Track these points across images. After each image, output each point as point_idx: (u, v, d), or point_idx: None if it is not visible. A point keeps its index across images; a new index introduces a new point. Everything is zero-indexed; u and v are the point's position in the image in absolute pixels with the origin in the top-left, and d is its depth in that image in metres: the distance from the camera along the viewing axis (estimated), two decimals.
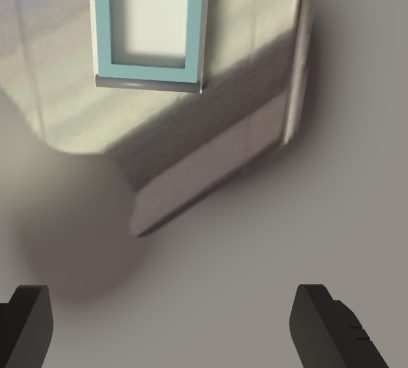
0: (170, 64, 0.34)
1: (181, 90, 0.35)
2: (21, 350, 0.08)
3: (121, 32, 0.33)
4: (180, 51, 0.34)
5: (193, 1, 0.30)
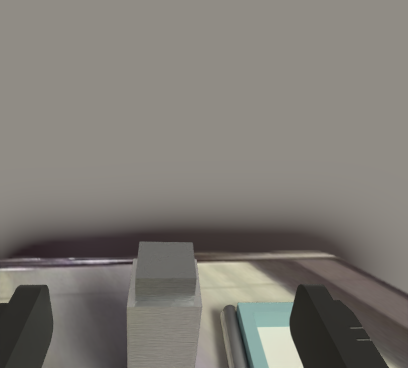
0: None
1: None
2: (21, 350, 0.08)
3: None
4: None
5: (263, 308, 0.32)
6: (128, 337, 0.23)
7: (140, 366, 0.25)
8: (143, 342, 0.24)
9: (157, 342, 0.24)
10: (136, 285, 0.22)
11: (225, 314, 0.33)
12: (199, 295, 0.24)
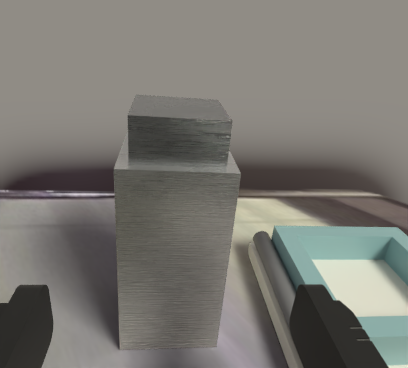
0: (393, 272, 0.23)
1: None
2: (21, 350, 0.08)
3: None
4: (368, 263, 0.24)
5: (310, 232, 0.23)
6: (118, 231, 0.14)
7: (138, 287, 0.16)
8: (142, 242, 0.15)
9: (166, 242, 0.15)
10: (130, 130, 0.13)
11: (257, 242, 0.24)
12: (233, 163, 0.15)
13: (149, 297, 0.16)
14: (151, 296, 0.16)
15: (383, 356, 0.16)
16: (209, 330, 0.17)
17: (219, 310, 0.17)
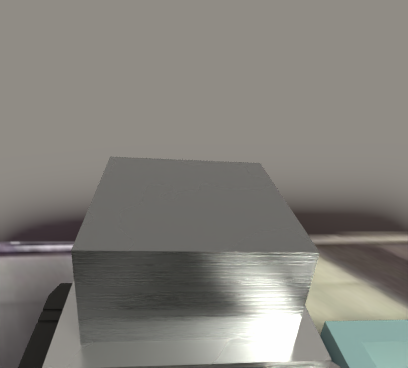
0: None
1: None
2: None
3: None
4: None
5: (380, 333, 0.16)
6: None
7: None
8: None
9: None
10: (79, 281, 0.05)
11: None
12: (305, 315, 0.07)
13: None
14: None
15: None
16: None
17: None
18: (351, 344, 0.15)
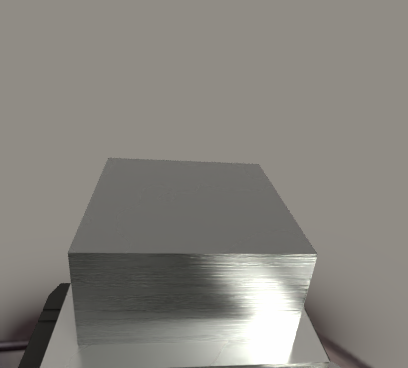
0: None
1: None
2: None
3: None
4: None
5: None
6: None
7: None
8: None
9: None
10: (76, 283, 0.05)
11: None
12: (304, 317, 0.07)
13: None
14: None
15: None
16: None
17: None
18: None
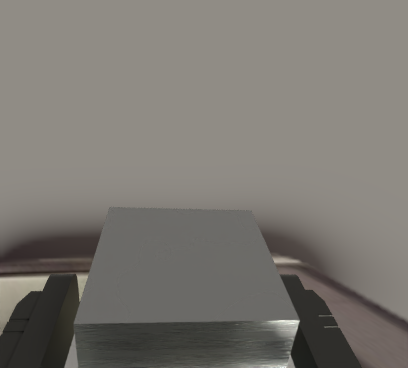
0: None
1: None
2: (58, 334, 0.09)
3: None
4: None
5: None
6: None
7: None
8: None
9: None
10: (81, 348, 0.06)
11: None
12: (290, 366, 0.08)
13: None
14: None
15: None
16: None
17: None
18: None
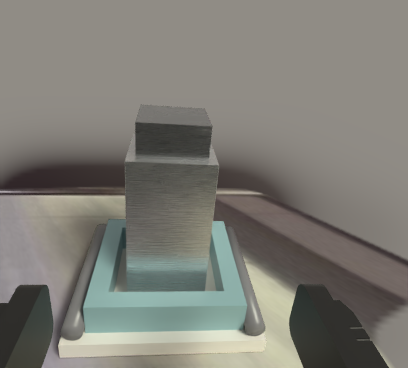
0: None
1: (236, 240, 0.28)
2: (22, 350, 0.08)
3: None
4: None
5: None
6: (127, 208, 0.19)
7: (142, 253, 0.20)
8: (145, 218, 0.19)
9: (163, 217, 0.19)
10: (136, 133, 0.18)
11: (94, 233, 0.27)
12: (214, 158, 0.19)
13: (150, 261, 0.21)
14: (152, 260, 0.21)
15: (134, 323, 0.20)
16: (197, 289, 0.22)
17: (205, 273, 0.21)
18: (115, 228, 0.26)
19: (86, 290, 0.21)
